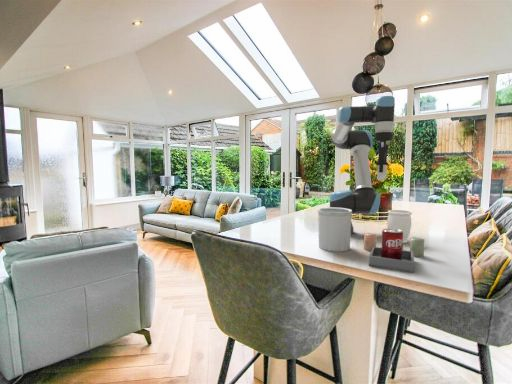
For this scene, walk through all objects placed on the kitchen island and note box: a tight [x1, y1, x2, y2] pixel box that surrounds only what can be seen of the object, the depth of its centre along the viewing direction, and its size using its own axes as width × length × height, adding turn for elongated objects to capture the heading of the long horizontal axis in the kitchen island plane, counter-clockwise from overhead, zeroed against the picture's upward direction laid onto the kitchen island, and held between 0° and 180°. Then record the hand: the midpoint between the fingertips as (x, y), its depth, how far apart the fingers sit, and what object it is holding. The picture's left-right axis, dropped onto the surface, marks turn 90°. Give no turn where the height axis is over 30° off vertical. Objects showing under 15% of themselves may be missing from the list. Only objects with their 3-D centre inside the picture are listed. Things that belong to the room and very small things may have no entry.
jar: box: [386, 209, 413, 244], centre depth 137 cm, size 11×10×15 cm
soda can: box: [380, 228, 404, 260], centre depth 105 cm, size 7×7×12 cm
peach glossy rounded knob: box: [363, 232, 378, 252], centre depth 123 cm, size 5×5×7 cm
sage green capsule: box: [409, 237, 426, 258], centre depth 114 cm, size 5×5×7 cm
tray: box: [368, 246, 415, 274], centre depth 105 cm, size 15×15×4 cm
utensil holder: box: [317, 206, 352, 253], centre depth 126 cm, size 15×15×18 cm
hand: (381, 179), depth 127 cm, fingers open, 13 cm apart
